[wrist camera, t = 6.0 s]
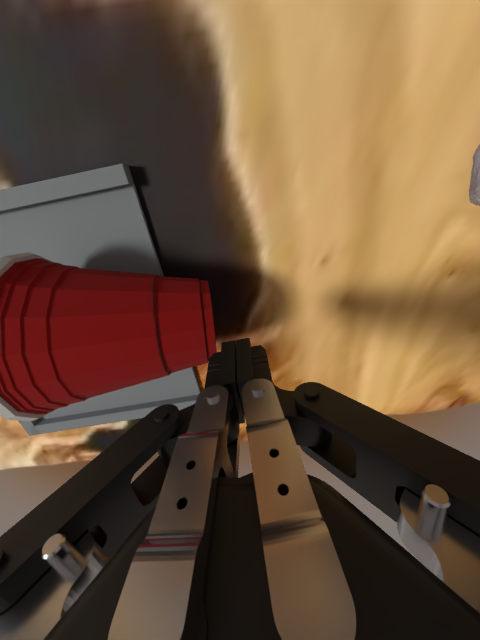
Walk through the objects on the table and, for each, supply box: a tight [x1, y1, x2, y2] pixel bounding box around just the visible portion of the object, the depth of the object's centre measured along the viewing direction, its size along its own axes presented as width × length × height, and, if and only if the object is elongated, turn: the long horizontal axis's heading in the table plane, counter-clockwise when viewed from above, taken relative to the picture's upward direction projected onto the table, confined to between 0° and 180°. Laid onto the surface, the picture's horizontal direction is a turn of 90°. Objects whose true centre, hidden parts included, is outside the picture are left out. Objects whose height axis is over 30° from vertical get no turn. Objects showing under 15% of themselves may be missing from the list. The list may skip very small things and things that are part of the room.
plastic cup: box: [0, 252, 217, 421], centre depth 18 cm, size 11×11×12 cm
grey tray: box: [0, 164, 201, 436], centre depth 23 cm, size 19×22×1 cm
